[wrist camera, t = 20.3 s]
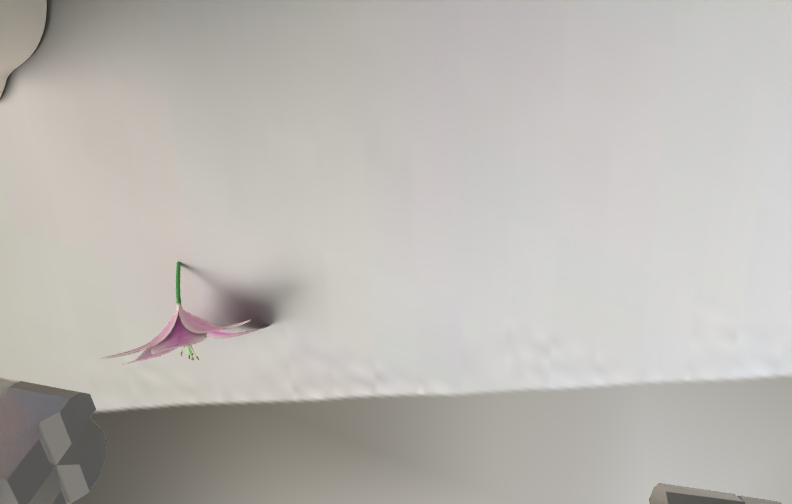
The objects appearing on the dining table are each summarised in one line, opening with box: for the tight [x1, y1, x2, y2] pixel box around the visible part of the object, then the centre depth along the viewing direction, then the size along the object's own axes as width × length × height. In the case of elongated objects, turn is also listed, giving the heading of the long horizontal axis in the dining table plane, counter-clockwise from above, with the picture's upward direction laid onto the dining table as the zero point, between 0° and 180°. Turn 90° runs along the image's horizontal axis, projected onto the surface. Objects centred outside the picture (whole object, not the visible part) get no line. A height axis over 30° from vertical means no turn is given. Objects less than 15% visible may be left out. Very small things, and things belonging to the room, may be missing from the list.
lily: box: [101, 262, 266, 365], centre depth 52 cm, size 12×12×10 cm
